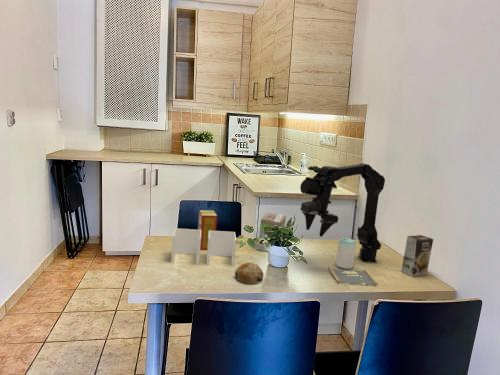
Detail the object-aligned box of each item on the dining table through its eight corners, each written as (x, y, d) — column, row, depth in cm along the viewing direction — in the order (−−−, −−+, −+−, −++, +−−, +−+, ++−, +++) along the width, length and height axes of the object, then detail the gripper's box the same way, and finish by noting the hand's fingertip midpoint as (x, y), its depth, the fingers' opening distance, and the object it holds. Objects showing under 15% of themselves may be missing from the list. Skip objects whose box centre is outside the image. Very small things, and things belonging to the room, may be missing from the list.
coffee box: (412, 277, 168) (419, 240, 165) (400, 271, 173) (406, 235, 171) (427, 275, 172) (434, 238, 169) (415, 269, 178) (421, 234, 175)
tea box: (278, 253, 182) (282, 222, 179) (256, 250, 183) (260, 218, 181) (282, 244, 196) (286, 214, 193) (262, 241, 198) (265, 211, 195)
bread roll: (247, 295, 146) (257, 279, 142) (227, 276, 149) (237, 260, 146) (261, 286, 154) (271, 271, 151) (242, 269, 158) (251, 253, 155)
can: (335, 268, 170) (339, 240, 168) (335, 262, 177) (339, 236, 175) (352, 271, 169) (356, 243, 167) (352, 265, 176) (356, 238, 173)
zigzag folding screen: (232, 256, 173) (234, 232, 171) (233, 266, 162) (236, 240, 160) (173, 253, 170) (175, 228, 168) (170, 263, 160) (172, 236, 158)
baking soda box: (214, 250, 178) (217, 215, 176) (199, 250, 177) (202, 214, 174) (210, 243, 187) (213, 209, 184) (196, 243, 186) (199, 209, 183)
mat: (365, 272, 169) (366, 269, 169) (377, 286, 155) (378, 283, 155) (328, 269, 168) (328, 266, 168) (336, 283, 154) (337, 280, 154)
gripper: (294, 189, 171) (286, 224, 172) (321, 199, 155) (311, 238, 156) (315, 192, 176) (306, 227, 178) (343, 203, 160) (333, 240, 162)
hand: (313, 233), depth 168 cm, fingers open, 9 cm apart
